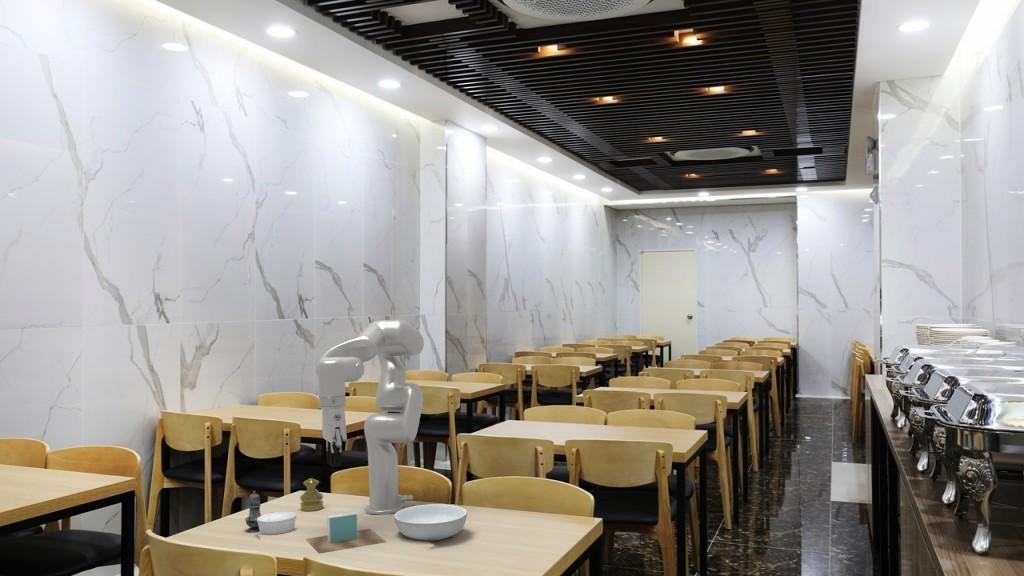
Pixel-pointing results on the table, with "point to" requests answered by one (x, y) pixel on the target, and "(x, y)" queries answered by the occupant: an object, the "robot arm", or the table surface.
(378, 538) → the board
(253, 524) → the salt shaker
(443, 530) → the serving bowl
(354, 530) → the tile
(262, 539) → the table surface
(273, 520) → the ramekin
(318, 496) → the olive chess piece
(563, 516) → the table surface
